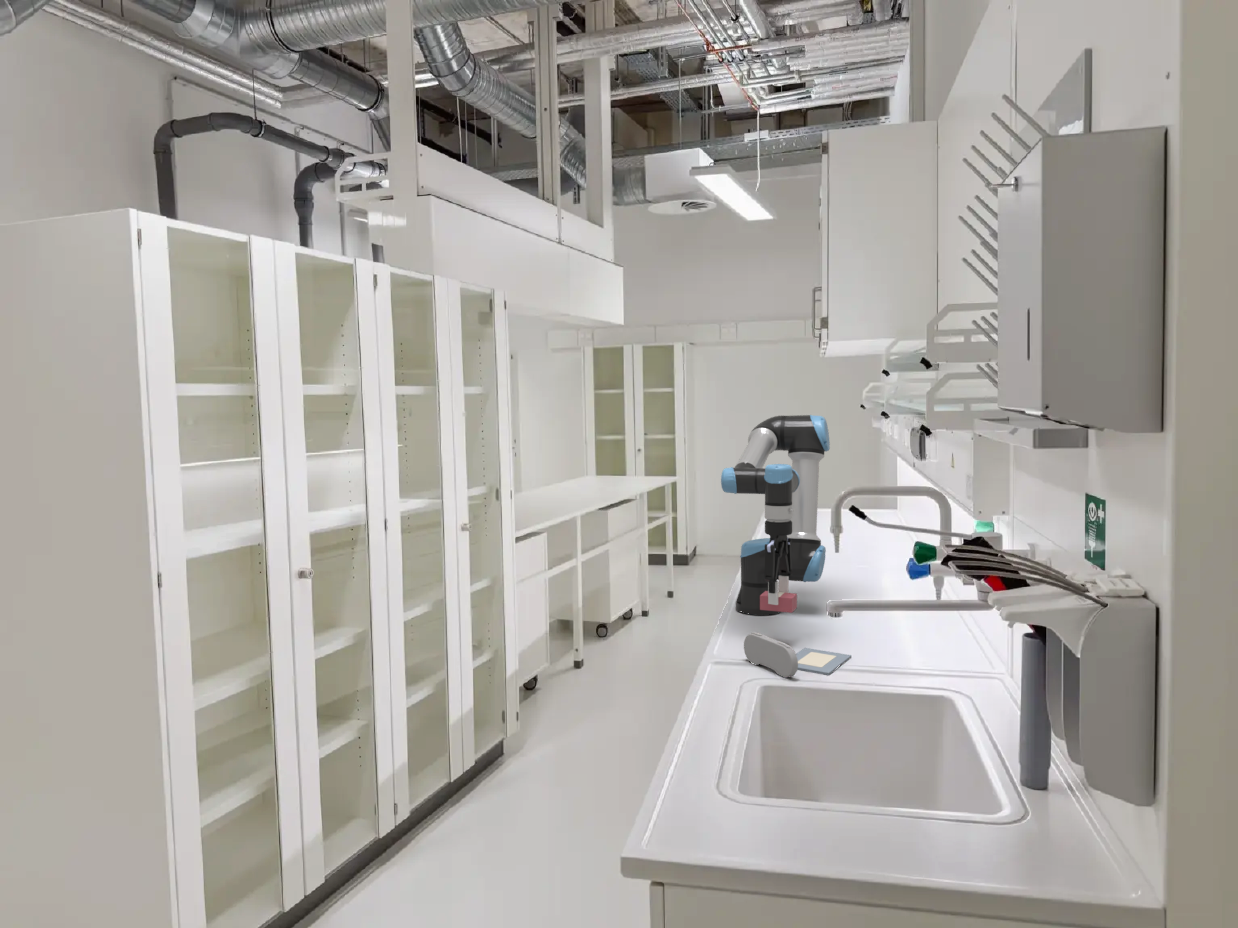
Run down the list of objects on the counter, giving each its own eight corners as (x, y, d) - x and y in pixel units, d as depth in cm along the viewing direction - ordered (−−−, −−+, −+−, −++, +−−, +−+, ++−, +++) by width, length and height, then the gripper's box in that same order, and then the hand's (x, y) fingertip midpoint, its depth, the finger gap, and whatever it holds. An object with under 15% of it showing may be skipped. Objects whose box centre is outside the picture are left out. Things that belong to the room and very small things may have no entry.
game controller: (799, 680, 204) (799, 647, 203) (791, 681, 203) (791, 648, 202) (750, 659, 221) (750, 628, 220) (743, 660, 220) (743, 629, 219)
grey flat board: (804, 649, 228) (804, 647, 228) (851, 657, 221) (851, 654, 221) (780, 666, 214) (780, 664, 214) (828, 675, 207) (828, 672, 207)
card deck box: (765, 604, 237) (765, 590, 237) (796, 607, 233) (796, 593, 233) (759, 609, 232) (759, 595, 231) (792, 612, 228) (792, 598, 227)
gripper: (777, 525, 220) (777, 610, 222) (804, 516, 236) (804, 595, 238) (751, 523, 224) (751, 607, 226) (779, 514, 240) (779, 592, 242)
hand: (778, 601), depth 232 cm, fingers closed on card deck box, 6 cm apart
